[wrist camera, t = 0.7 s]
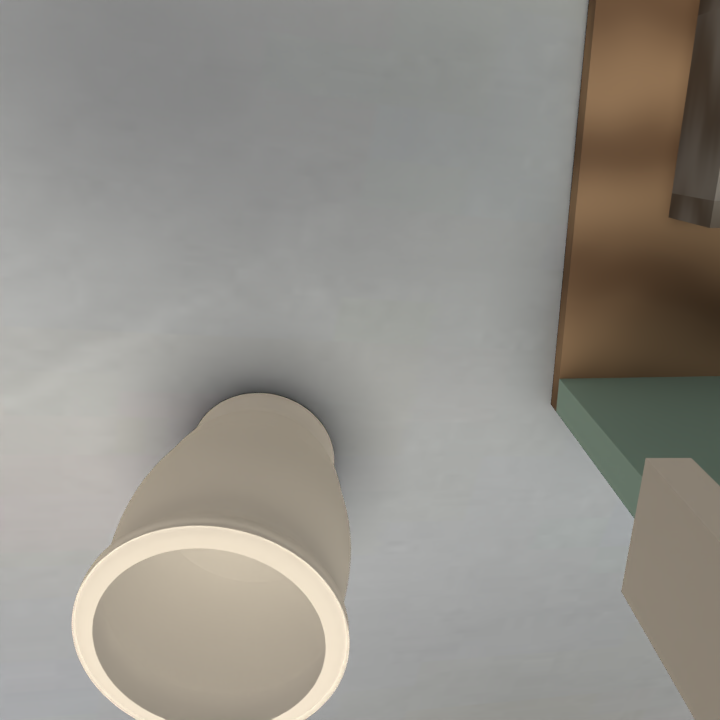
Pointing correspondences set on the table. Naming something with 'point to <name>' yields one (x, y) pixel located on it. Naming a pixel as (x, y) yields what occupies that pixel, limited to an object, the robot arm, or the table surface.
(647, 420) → the green l-shaped post
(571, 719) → the table surface
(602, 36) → the socket board
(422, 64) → the table surface
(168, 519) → the jar
